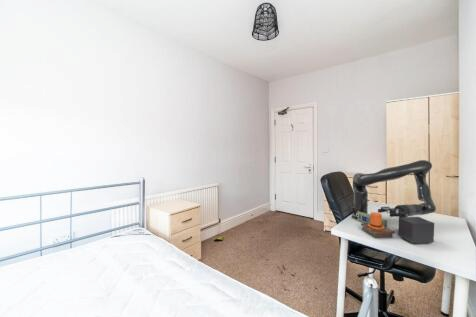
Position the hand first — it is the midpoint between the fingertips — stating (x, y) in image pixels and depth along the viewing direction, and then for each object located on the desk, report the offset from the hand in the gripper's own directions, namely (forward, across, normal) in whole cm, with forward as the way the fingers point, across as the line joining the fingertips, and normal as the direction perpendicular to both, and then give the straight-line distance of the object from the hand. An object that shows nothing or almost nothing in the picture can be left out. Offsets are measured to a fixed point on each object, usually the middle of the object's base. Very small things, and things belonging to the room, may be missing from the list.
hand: (384, 212), depth 136 cm
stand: (+6, -1, -12) cm, 14 cm away
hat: (+6, 0, -8) cm, 10 cm away
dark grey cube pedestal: (-6, -15, -12) cm, 20 cm away
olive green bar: (-1, +14, -12) cm, 19 cm away
